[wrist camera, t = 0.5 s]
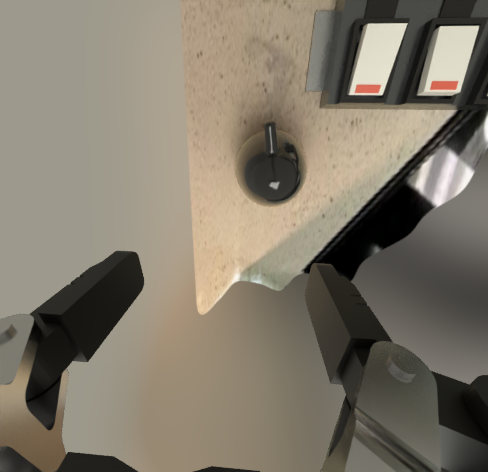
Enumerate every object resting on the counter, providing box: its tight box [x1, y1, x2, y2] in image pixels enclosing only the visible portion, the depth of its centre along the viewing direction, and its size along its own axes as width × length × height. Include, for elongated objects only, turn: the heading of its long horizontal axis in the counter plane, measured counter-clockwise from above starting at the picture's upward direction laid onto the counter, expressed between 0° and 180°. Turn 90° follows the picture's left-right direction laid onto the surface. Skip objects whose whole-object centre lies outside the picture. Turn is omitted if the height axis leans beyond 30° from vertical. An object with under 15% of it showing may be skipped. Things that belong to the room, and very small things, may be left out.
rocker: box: [346, 23, 408, 95], centre depth 22 cm, size 6×4×1 cm, turn 179°
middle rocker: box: [417, 26, 479, 96], centre depth 22 cm, size 6×4×1 cm, turn 179°
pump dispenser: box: [235, 121, 307, 207], centre depth 25 cm, size 10×10×15 cm
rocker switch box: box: [305, 0, 488, 110], centre depth 23 cm, size 12×29×5 cm, turn 89°
